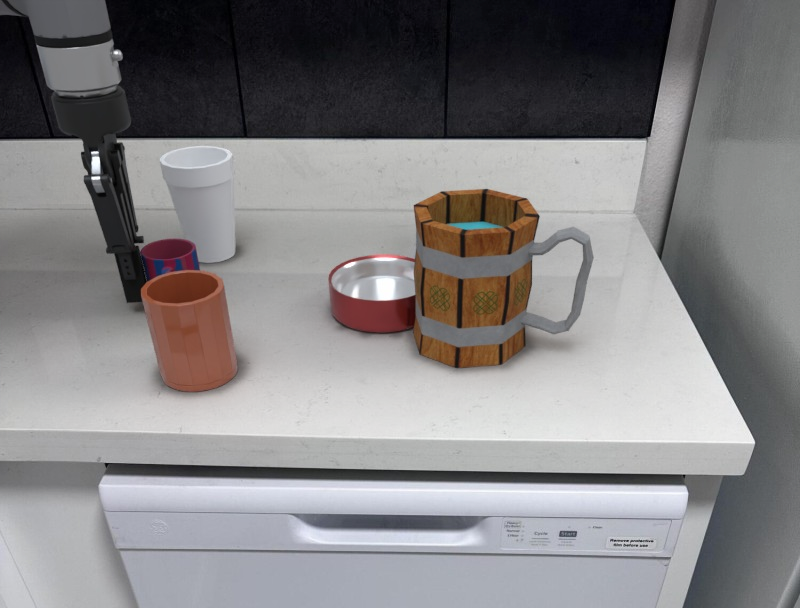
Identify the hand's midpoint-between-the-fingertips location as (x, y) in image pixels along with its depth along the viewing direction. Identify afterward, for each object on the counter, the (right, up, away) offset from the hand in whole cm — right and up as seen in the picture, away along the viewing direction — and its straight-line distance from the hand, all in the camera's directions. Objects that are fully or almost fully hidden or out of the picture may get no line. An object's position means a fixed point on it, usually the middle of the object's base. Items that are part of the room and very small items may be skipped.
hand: (138, 299), depth 98 cm
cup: (+4, -1, +2) cm, 5 cm away
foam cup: (+6, +11, +14) cm, 19 cm away
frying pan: (+33, +5, +7) cm, 34 cm away
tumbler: (+10, -11, -10) cm, 18 cm away
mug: (+44, -7, -6) cm, 45 cm away
